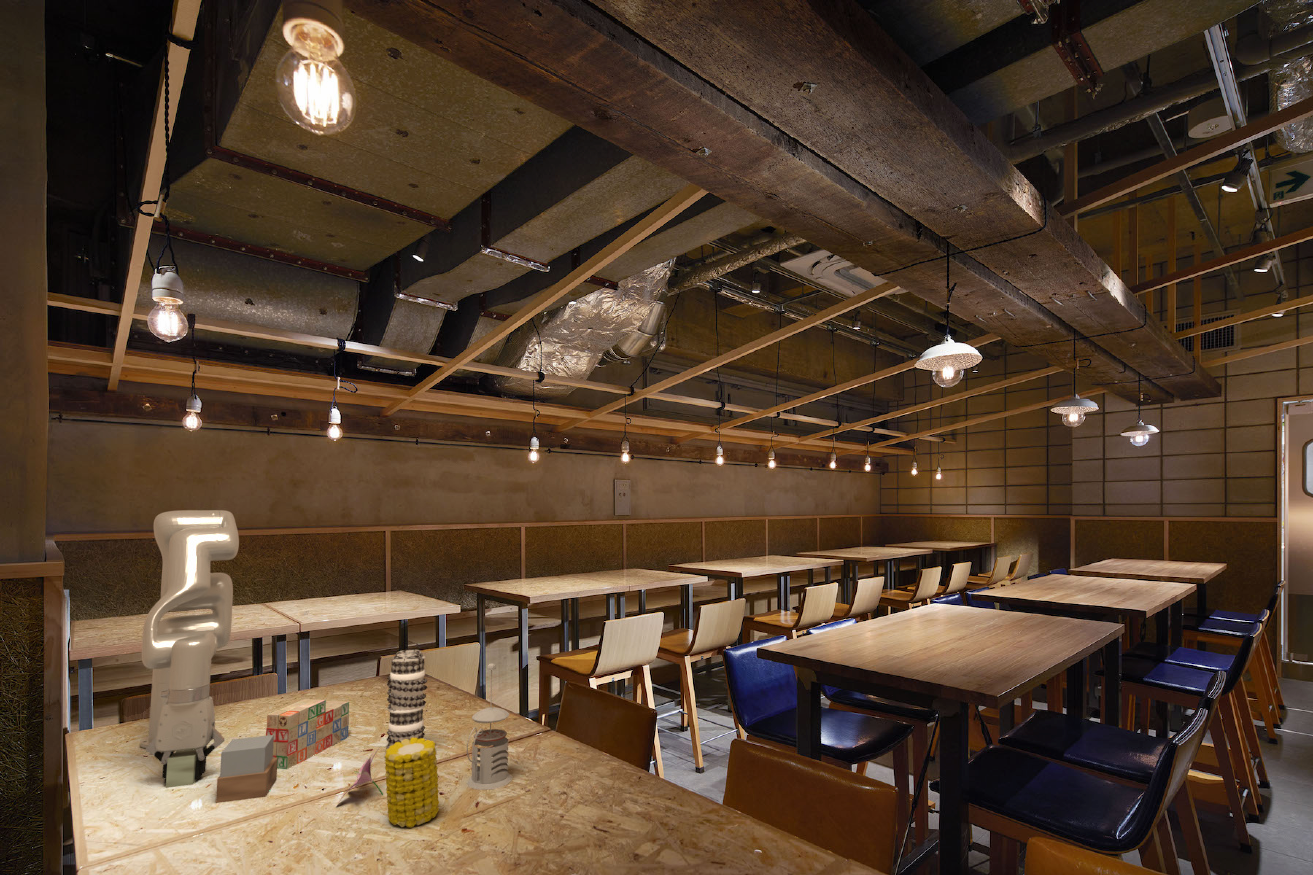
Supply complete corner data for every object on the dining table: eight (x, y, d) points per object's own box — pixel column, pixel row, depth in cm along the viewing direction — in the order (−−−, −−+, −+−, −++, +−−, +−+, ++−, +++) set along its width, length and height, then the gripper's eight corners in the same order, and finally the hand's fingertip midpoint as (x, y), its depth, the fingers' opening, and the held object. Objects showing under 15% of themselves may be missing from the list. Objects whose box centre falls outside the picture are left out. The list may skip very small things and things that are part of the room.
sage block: (174, 778, 146) (176, 750, 147) (200, 775, 148) (202, 747, 148) (165, 787, 141) (167, 758, 142) (192, 784, 143) (194, 755, 143)
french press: (521, 775, 146) (522, 660, 149) (487, 796, 136) (489, 672, 138) (486, 768, 150) (488, 656, 153) (451, 788, 140) (453, 668, 142)
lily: (372, 785, 144) (350, 749, 143) (413, 769, 141) (391, 732, 140) (337, 827, 133) (312, 789, 132) (381, 811, 130) (356, 772, 129)
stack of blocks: (327, 736, 173) (330, 688, 174) (348, 737, 171) (350, 689, 173) (263, 768, 152) (266, 713, 153) (286, 770, 150) (289, 714, 152)
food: (447, 820, 128) (403, 846, 120) (410, 793, 135) (365, 815, 126) (458, 747, 128) (414, 767, 119) (420, 723, 134) (375, 740, 125)
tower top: (231, 763, 142) (232, 739, 143) (272, 758, 145) (273, 734, 145) (219, 777, 135) (221, 752, 135) (263, 771, 137) (265, 747, 138)
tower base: (230, 786, 142) (231, 762, 143) (276, 780, 145) (277, 757, 145) (215, 804, 134) (217, 778, 134) (265, 797, 136) (266, 772, 137)
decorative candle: (375, 762, 154) (379, 654, 157) (404, 749, 162) (407, 646, 165) (405, 768, 151) (409, 657, 153) (433, 754, 159) (436, 649, 162)
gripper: (136, 702, 140) (130, 791, 138) (227, 695, 145) (222, 780, 143) (151, 693, 147) (145, 777, 145) (237, 686, 152) (233, 767, 151)
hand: (183, 778), depth 144 cm, fingers closed on sage block, 5 cm apart
